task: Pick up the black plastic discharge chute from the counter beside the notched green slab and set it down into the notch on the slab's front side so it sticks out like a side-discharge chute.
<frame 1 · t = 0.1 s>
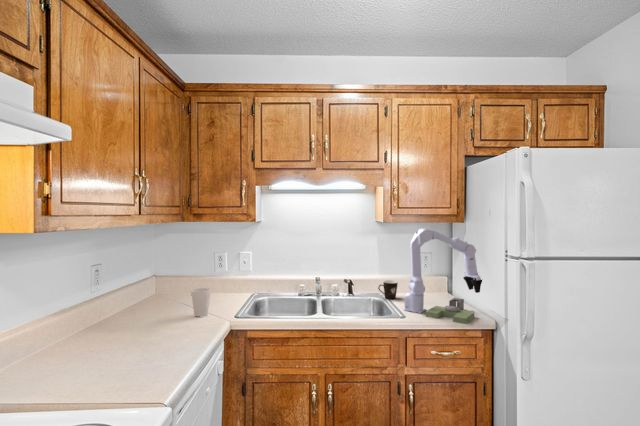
hand: (474, 290, 211), 10 cm above the table, tool pointing down, fingers open, 7 cm apart
notched green slab: (449, 316, 198), on the table
chute: (456, 311, 209), on the table
foam cup: (200, 315, 198), on the table
coffee mug: (387, 298, 237), on the table
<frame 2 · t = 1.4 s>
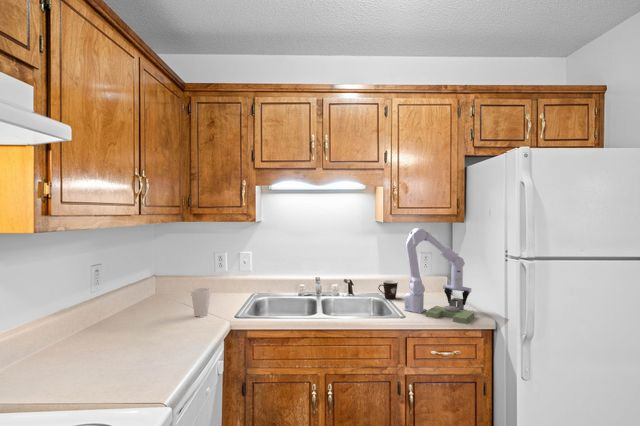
hand: (456, 303, 209), 4 cm above the table, tool pointing down, fingers open, 7 cm apart
nothing on the table moved.
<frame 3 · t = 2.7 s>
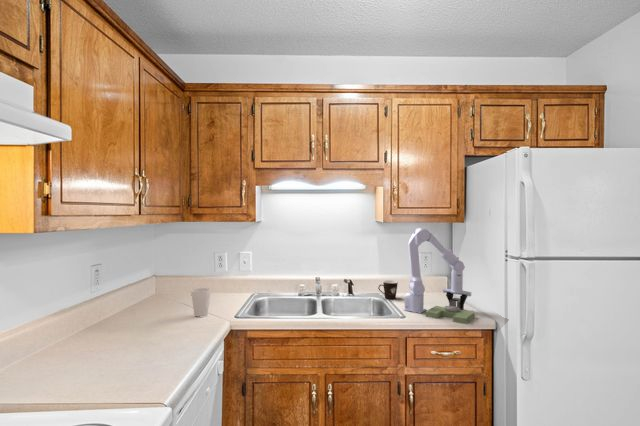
hand: (456, 307, 209), 2 cm above the table, tool pointing down, fingers closed on chute, 5 cm apart
chute: (456, 310, 209), on the table, touching gripper
everything else where it was.
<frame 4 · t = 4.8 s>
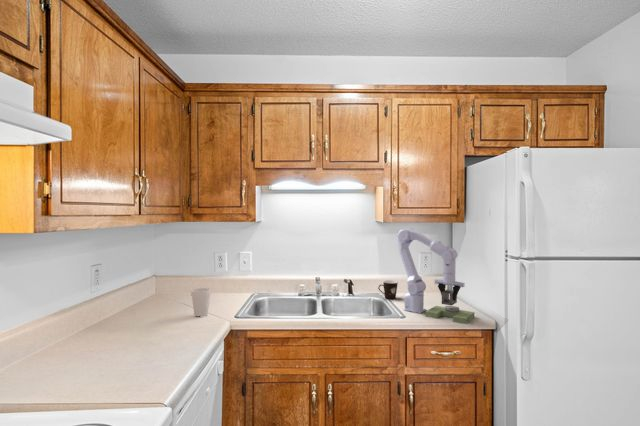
hand: (449, 299, 198), 9 cm above the table, tool pointing down, fingers closed on chute, 5 cm apart
chute: (449, 303, 198), point 7 cm above the table, touching gripper
everything else where it was.
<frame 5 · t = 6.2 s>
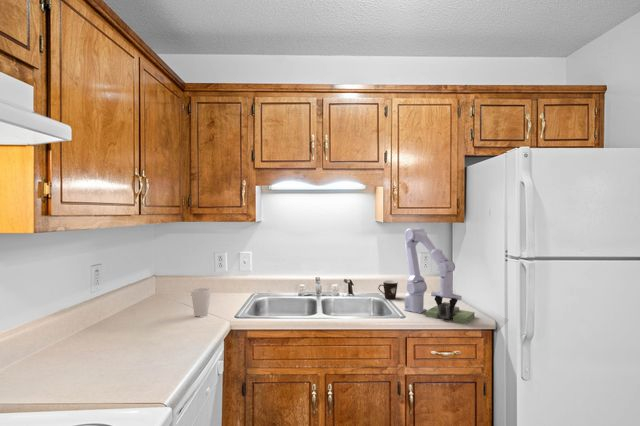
hand: (445, 312, 194), 3 cm above the table, tool pointing down, fingers closed on chute, 5 cm apart
chute: (446, 316, 194), point 1 cm above the table, touching gripper
everything else where it was.
when the fingers open (3 cm above the table, at t = 7.2 s): chute drops 1 cm, on the table.
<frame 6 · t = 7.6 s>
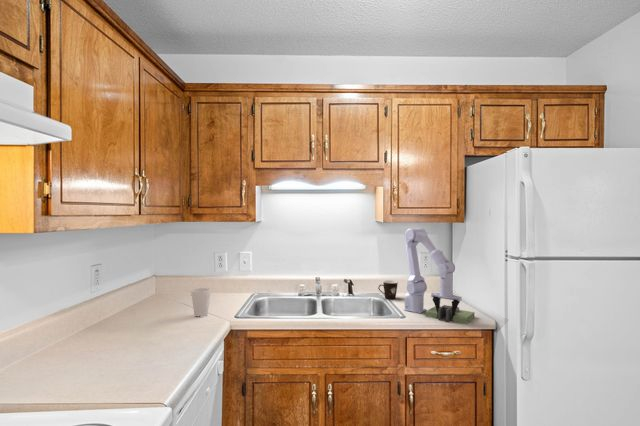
hand: (445, 313, 194), 3 cm above the table, tool pointing down, fingers open, 7 cm apart
chute: (446, 319, 194), on the table
everything else where it was.
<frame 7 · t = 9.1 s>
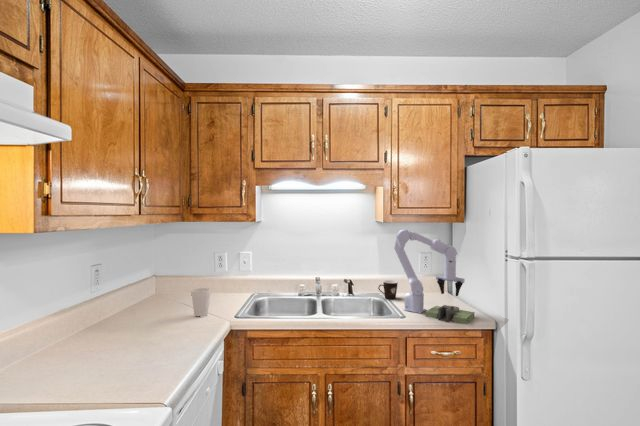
hand: (449, 294, 206), 9 cm above the table, tool pointing down, fingers open, 7 cm apart
nothing on the table moved.
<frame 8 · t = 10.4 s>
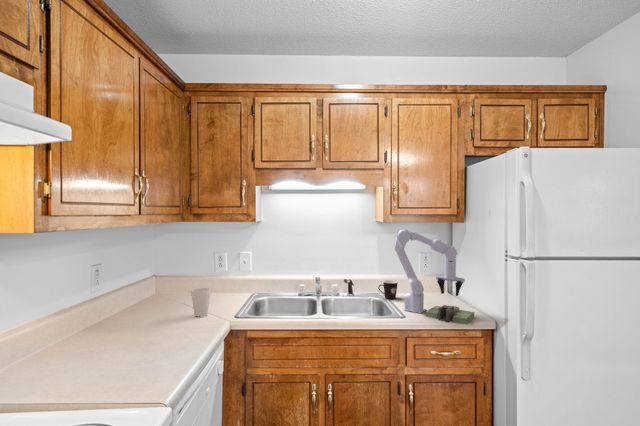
hand: (449, 294, 206), 9 cm above the table, tool pointing down, fingers open, 7 cm apart
nothing on the table moved.
at the end: chute 0.5 cm from the target spot on the notched green slab, point 0.0 cm above the notched green slab's base; chute tilted 0°; the gripper is holding nothing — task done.
